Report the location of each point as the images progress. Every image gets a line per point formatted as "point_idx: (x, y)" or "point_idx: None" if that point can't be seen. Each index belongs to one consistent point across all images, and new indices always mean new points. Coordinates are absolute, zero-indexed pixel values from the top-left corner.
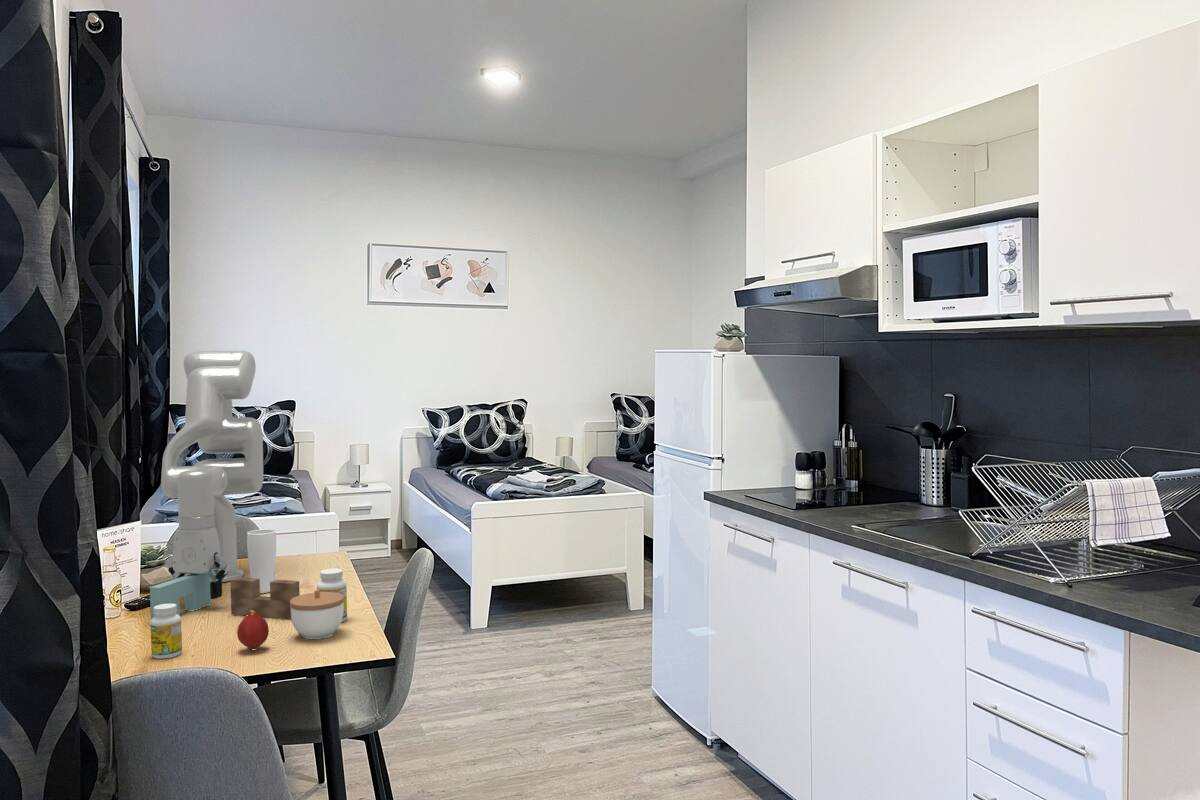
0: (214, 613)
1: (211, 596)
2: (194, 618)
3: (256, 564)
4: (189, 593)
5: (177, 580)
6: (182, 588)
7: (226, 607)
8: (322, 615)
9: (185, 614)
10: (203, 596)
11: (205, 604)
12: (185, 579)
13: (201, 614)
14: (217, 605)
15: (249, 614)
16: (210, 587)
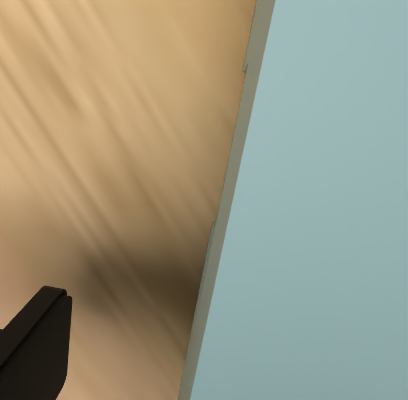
0: (34, 176)
1: (46, 296)
2: (98, 36)
3: None
4: (211, 245)
5: (372, 165)
6: (235, 149)
7: None
8: None
9: None
10: (185, 364)
11: (190, 333)
12: (212, 297)
13: (111, 148)
14: (134, 353)
15: None
16: (12, 366)
